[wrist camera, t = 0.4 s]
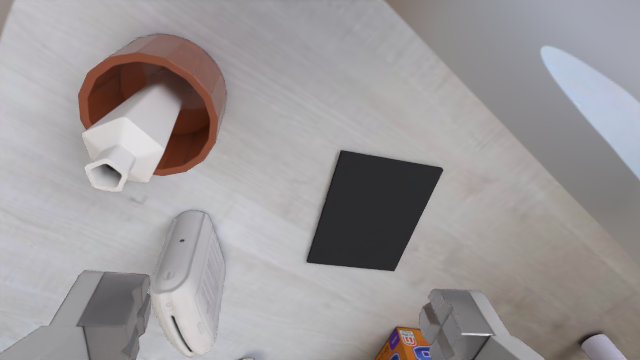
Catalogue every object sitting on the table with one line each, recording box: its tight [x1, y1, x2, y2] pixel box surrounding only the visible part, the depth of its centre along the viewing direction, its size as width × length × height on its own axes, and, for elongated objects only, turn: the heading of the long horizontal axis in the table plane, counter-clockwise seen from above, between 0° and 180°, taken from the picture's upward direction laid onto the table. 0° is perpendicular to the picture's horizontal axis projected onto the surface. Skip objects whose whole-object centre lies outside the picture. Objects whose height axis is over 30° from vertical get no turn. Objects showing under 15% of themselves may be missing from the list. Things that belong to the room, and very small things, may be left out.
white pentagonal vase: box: [82, 68, 193, 192], centre depth 26 cm, size 5×4×15 cm
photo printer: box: [150, 210, 225, 357], centre depth 37 cm, size 10×4×12 cm, turn 6°
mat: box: [307, 150, 443, 271], centre depth 43 cm, size 16×12×1 cm
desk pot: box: [78, 34, 227, 176], centre depth 30 cm, size 10×10×7 cm
